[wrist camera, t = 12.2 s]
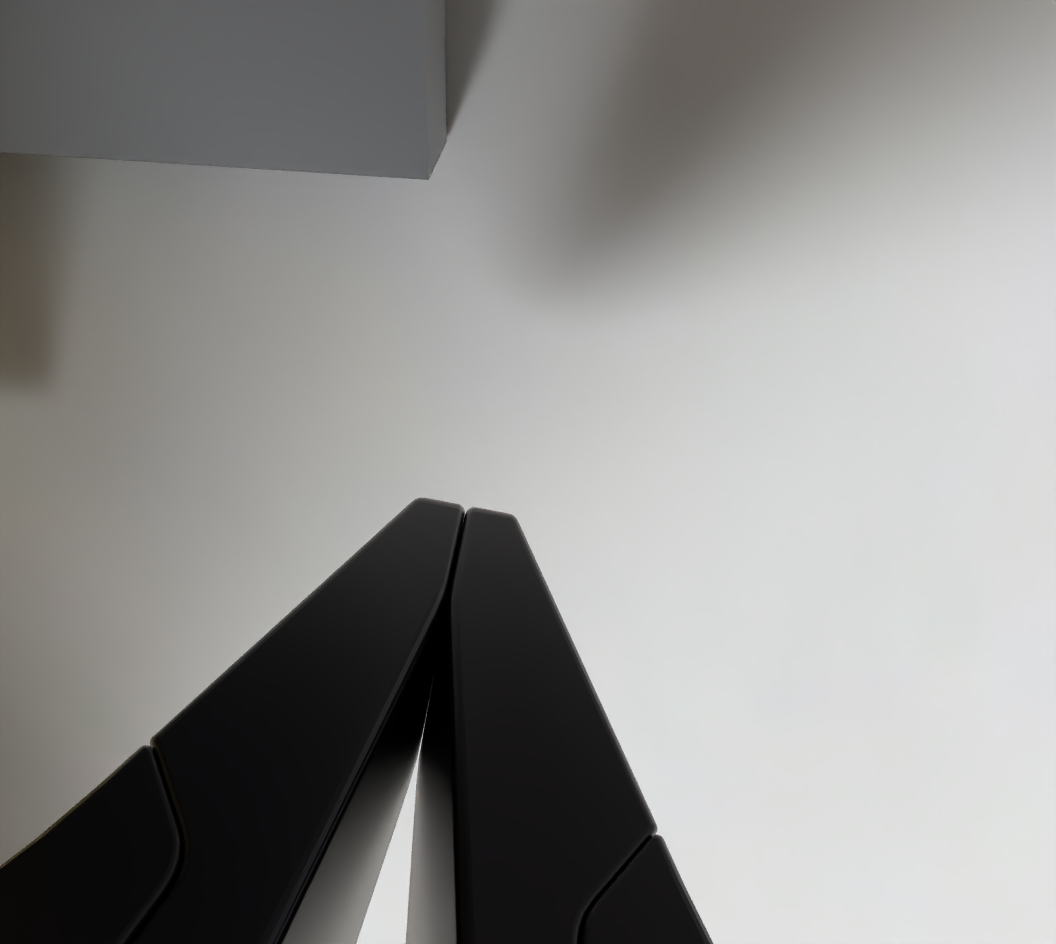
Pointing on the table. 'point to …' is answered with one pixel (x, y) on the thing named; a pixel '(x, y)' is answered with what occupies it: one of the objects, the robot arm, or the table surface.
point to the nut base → (228, 83)
